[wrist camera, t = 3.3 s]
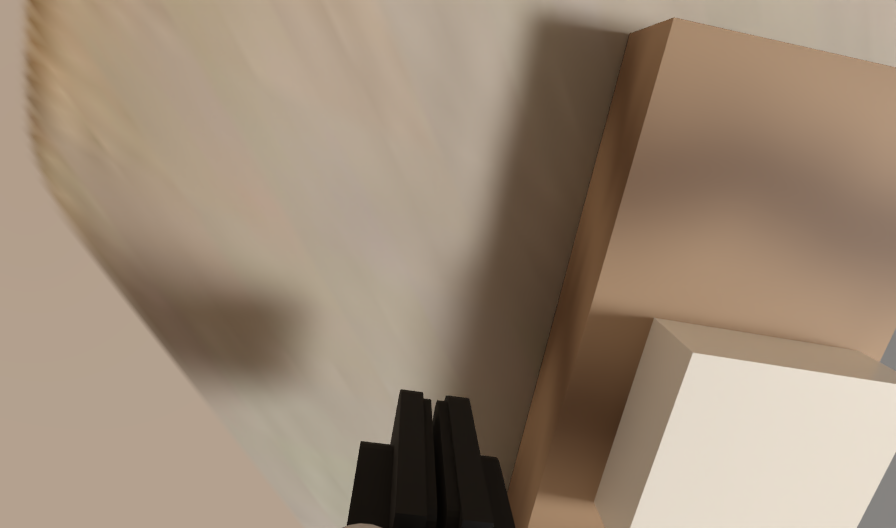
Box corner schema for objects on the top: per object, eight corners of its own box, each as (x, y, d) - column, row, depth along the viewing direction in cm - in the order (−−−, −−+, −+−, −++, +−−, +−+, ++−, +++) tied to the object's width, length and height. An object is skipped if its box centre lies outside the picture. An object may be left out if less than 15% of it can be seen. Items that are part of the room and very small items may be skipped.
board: (629, 33, 14) (673, 17, 11) (910, 95, 14) (1008, 92, 12) (485, 577, 19) (494, 644, 16) (696, 598, 20) (734, 666, 17)
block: (654, 317, 13) (692, 352, 11) (858, 350, 14) (927, 389, 12) (594, 501, 15) (618, 559, 13) (778, 524, 16) (828, 582, 14)
